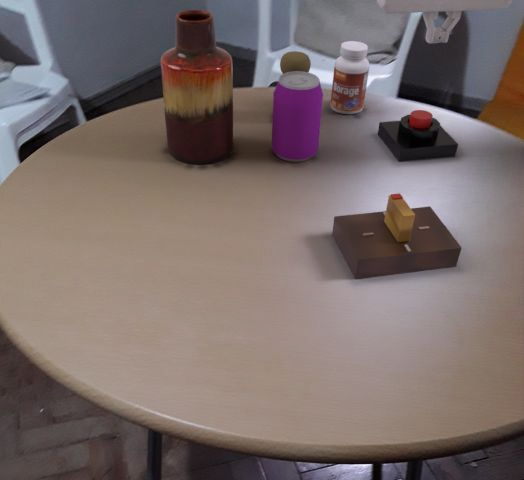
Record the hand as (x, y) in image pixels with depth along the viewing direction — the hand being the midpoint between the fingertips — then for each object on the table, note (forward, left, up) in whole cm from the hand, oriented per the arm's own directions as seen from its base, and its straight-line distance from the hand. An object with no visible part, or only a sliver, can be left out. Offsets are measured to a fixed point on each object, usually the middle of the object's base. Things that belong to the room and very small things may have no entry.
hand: (436, 41), depth 95 cm
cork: (+18, -14, -17) cm, 28 cm away
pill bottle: (+7, -16, -17) cm, 24 cm away
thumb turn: (+15, +28, -14) cm, 35 cm away
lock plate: (+15, +28, -17) cm, 36 cm away
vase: (+36, -5, -17) cm, 40 cm away
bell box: (0, 0, -17) cm, 17 cm away
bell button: (0, 0, -13) cm, 13 cm away
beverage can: (+21, -1, -17) cm, 27 cm away
